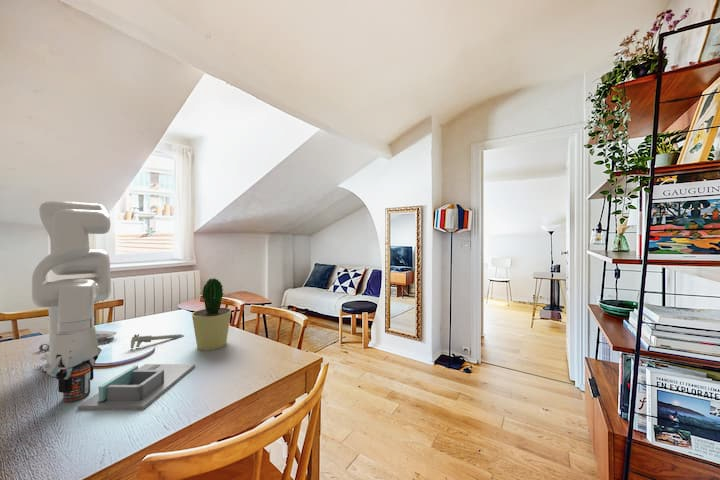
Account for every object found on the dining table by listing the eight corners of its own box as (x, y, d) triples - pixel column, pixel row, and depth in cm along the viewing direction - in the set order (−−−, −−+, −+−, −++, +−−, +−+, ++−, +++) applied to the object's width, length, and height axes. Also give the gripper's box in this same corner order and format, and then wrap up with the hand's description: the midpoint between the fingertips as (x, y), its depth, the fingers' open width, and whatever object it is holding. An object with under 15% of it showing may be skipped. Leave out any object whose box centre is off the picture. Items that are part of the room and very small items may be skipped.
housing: (77, 409, 79) (77, 391, 79) (145, 366, 104) (145, 353, 104) (143, 409, 79) (143, 391, 79) (195, 366, 105) (195, 353, 104)
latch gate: (98, 400, 80) (98, 386, 80) (134, 377, 93) (134, 365, 93) (103, 400, 80) (103, 386, 80) (138, 377, 93) (137, 365, 93)
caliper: (131, 350, 119) (131, 335, 119) (130, 349, 120) (130, 335, 120) (184, 336, 136) (184, 323, 136) (183, 336, 136) (183, 323, 136)
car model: (51, 343, 125) (51, 332, 125) (120, 336, 135) (120, 325, 135) (35, 353, 115) (35, 341, 115) (111, 344, 125) (111, 333, 125)
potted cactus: (187, 344, 125) (188, 276, 125) (224, 336, 136) (225, 273, 135) (196, 355, 114) (196, 281, 114) (236, 346, 124) (236, 277, 124)
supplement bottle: (58, 405, 81) (57, 365, 80) (67, 394, 86) (67, 357, 86) (86, 399, 83) (86, 361, 83) (93, 389, 89) (93, 353, 88)
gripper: (90, 316, 93) (90, 371, 93) (30, 335, 75) (30, 402, 76) (113, 317, 93) (114, 371, 93) (59, 335, 76) (59, 402, 76)
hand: (76, 385), depth 84 cm, fingers closed on supplement bottle, 6 cm apart
